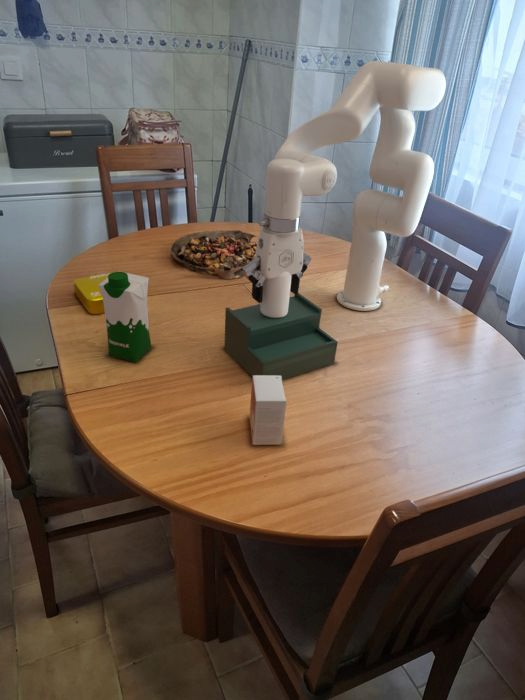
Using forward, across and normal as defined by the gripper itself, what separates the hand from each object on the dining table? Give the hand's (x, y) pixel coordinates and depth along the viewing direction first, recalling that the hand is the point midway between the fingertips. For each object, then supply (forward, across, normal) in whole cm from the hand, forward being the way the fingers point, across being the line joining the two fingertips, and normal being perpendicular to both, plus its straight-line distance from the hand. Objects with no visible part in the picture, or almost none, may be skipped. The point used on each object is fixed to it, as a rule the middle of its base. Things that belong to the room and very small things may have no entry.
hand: (275, 296), depth 115 cm
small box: (+14, -17, -24) cm, 33 cm away
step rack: (+14, 0, -4) cm, 15 cm away
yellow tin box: (+14, -26, +42) cm, 51 cm away
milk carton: (+14, -30, +14) cm, 36 cm away
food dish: (+14, +16, +56) cm, 59 cm away
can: (+4, 0, 0) cm, 4 cm away
